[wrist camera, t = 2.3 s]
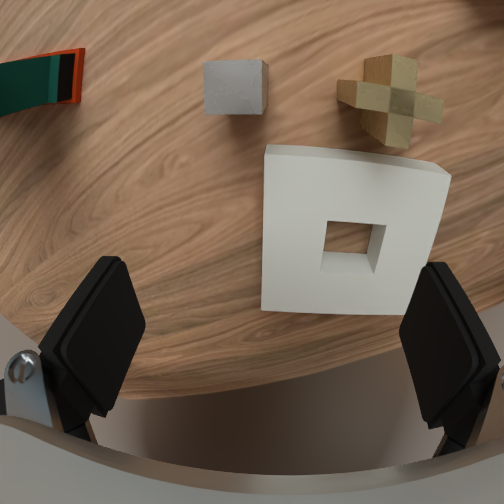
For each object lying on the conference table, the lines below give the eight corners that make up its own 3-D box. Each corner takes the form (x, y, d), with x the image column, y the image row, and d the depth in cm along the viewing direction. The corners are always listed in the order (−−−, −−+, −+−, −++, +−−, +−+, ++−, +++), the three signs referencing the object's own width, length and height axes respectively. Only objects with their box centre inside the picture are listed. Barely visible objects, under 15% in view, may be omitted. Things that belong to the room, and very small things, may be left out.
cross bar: (407, 67, 22) (446, 69, 15) (401, 133, 25) (436, 154, 19) (338, 55, 22) (358, 47, 16) (335, 124, 26) (352, 141, 19)
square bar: (268, 64, 24) (261, 59, 17) (267, 104, 26) (261, 114, 19) (225, 65, 24) (203, 61, 17) (225, 104, 26) (204, 114, 19)
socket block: (434, 163, 26) (451, 175, 23) (397, 293, 36) (405, 314, 33) (267, 144, 28) (264, 154, 25) (263, 288, 38) (261, 310, 34)
